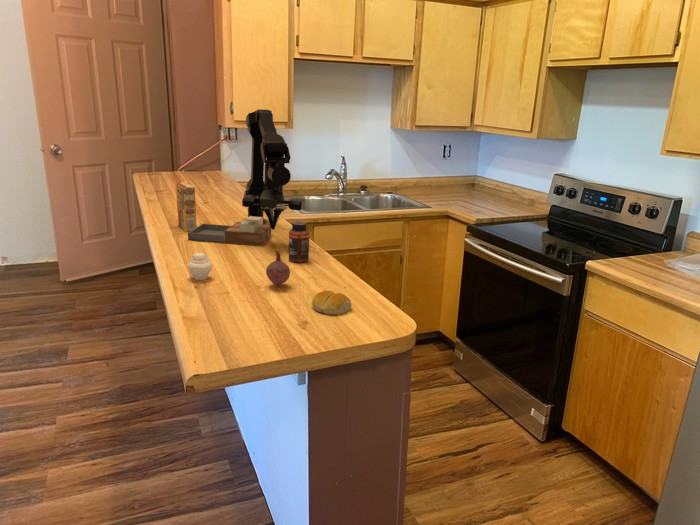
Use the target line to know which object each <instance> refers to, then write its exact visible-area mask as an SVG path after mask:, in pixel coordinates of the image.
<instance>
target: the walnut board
mask: <svg viewBox="0 0 700 525" xmlns="http://www.w3.org/2000/svg"><path fill="white" fill-rule="evenodd" d="M242 222H243V221H236V222H234V223H233V224H232V225H230V226H231V227H229V228H228V229H227V230H225V242H224V244H229V245H231V244H232V245H242V246H254V247H255V246H256V247H262V246H263V245H264V244H265V243H266V242H267V241H268V240H269V239H270V238H271V237H272V229H271V226H270V223H269V224H268V223H263V225H262V226H260V227H257V230H256V231H255V232H254V233H251V232H240V223H242ZM270 236H271V237H270Z"/></svg>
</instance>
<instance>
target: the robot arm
mask: <svg viewBox="0 0 700 525" xmlns="http://www.w3.org/2000/svg"><path fill="white" fill-rule="evenodd" d="M245 125H246V127H247V131H248V133H249V135H250V137H251V160H250V161H251V164H250V167H251V169H250V179H249V180H248V182H247V183H246V184H245V188H246V189H245V190H244V191H243V192H244V193H243V198H242V200H241V204H242V205H241V206H242V207H245V208H247V218H248V217H249V216H254V217H263V224H265V223H266V222H267V219H268V222H269V224H270V226H271V230H275V228H276V226H277V223H278V222H279V219H280V216H281V214H282V212H284V211H286V210H287V207H288V209H290V210H291V211H302V210H303V209H304V208H305V200H304V199H303V198H299V197H291V198H290V199H289V200H288V199H285V196H284V186H286V185H287V184H289V182H290V181H291V176H292V174H291V172H290V170H289V169H288V168H287V167H285V166H286V165H285V164H290V160H291V158H292V157H291V154H290V149H289V146H288V144H287V142H286V140H285V139H284V137H283V136H282V135H281V134H278V132H277V129H276V126H275V123H274V114H273V112H272V110H270V109H259V108H258V109H256V110H255V111H253V112H252V111H251V112H249V113H248V114H247V115H246V117H245ZM264 213H265V215H266V217H267V219H265V218H264Z"/></svg>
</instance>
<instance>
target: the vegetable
mask: <svg viewBox="0 0 700 525" xmlns="http://www.w3.org/2000/svg"><path fill="white" fill-rule="evenodd" d="M275 256H276V258H275V260H274V261H272V262H270V263H269V264H268V265H267V267H266V269H265V274H266V276H267V279H268V280H269V281H270V282H271V283H272V284H273V285H274V286H276V287H280V286H282V284H285V282H287V281H289V278H290V277H291V276H290V275H291V270H290V267H289V265H288V264H286V262H284V261H283V260H282V259H281V253H280V251H279V249H278V248H275Z"/></svg>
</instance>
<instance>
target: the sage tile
mask: <svg viewBox="0 0 700 525" xmlns="http://www.w3.org/2000/svg"><path fill="white" fill-rule="evenodd" d="M241 222H242V223H240V232H251V233H254V232H255V231H256V230H257V222H253V221H246V220H243V221H241Z"/></svg>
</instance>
